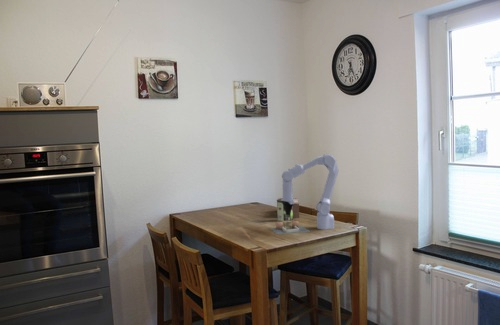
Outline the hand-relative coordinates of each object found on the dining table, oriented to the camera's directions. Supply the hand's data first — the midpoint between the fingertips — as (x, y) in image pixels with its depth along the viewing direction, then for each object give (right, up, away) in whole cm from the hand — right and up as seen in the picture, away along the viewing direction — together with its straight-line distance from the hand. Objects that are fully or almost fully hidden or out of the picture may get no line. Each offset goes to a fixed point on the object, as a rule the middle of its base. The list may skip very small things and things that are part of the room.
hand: (288, 214), depth 227 cm
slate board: (+1, -10, -2) cm, 10 cm away
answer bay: (+1, -9, -3) cm, 9 cm away
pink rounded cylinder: (+5, -8, +4) cm, 10 cm away
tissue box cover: (+5, -7, +49) cm, 49 cm away
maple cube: (0, -8, +3) cm, 9 cm away
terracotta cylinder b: (-5, -8, +2) cm, 10 cm away
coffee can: (+1, -8, +27) cm, 28 cm away
